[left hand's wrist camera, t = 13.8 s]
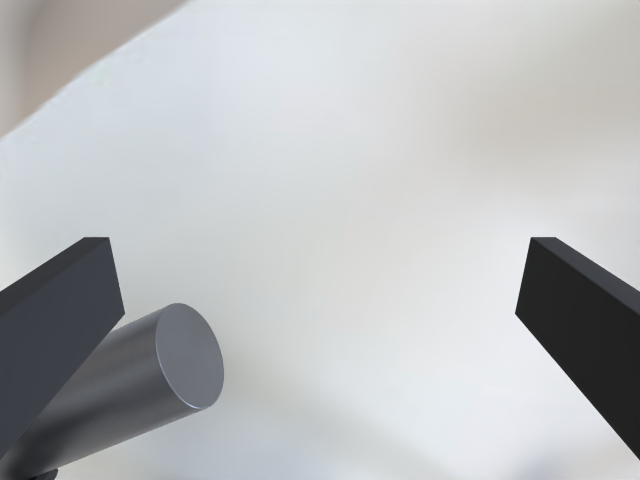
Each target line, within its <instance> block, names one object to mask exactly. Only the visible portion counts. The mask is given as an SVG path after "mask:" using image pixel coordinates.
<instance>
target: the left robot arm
mask: <svg viewBox="0 0 640 480" xmlns="http://www.w3.org/2000/svg"><path fill="white" fill-rule="evenodd" d="M124 314H125V311H124V307H123V302H122V297H121V292H120V287H119V283H118V278H117V273H116V268H115V264H114V259H113V254H112V249H111V244H110V240H109V237H84V238H83V239H81V240H79V241H78V242H76V243H75V244H73V245H72V246H70V247H69V248H67V249H66V250H64V251H62V252H61V253H59V254H58V255H56V256H55V257H53V258H52V259H50V260H49V261H47V262H45V263H44V264H42V265H41V266H39V267H38V268H36V269H35V270H33V271H32V272H30V273H28V274H27V275H25V276H24V277H22V278H21V279H19V280H18V281H16V282H15V283H13V284H11V285H10V286H8V287H7V288H5V289H4V290H2V291H1V292H0V460H1V459H2V458H3V456H4V455H5V454H6V453H7V452H8V450H9V449H10V448H11V447H12V446H13V445H14V443H15V442H16V441H17V440H18V439H19V438H20V436H21V435H22V434H23V433H24V432H25V431H26V429H27V428H28V427H29V426H30V425H31V424H32V422H33V421H34V420H35V419H36V418H37V416H38V415H39V414H40V413H41V412H42V411H43V409H44V408H45V407H46V406H47V405H48V404H49V402H50V401H51V400H52V399H53V398H54V397H55V395H56V394H57V393H58V392H59V391H60V389H61V388H62V387H63V386H64V385H65V384H66V382H67V381H68V380H69V379H70V378H71V377H72V375H73V374H74V373H75V372H76V371H77V370H78V368H79V367H80V366H81V365H82V364H83V362H84V361H85V360H86V359H87V358H88V357H89V355H90V354H91V353H92V352H93V351H94V350H95V348H96V347H97V346H98V345H99V344H100V343H101V341H102V340H103V339H104V338H105V337H106V335H107V334H108V333H109V332H110V331H111V330H112V328H113V327H114V326H115V325H116V324H117V323H118V321H119V320H120V319H121V318H122V317H123V316H124ZM515 314H516V316H517V317H518V318H519V319H520V320H521V321H522V323H523V324H524V325H525V326H526V327H527V328H528V330H529V331H530V332H531V333H532V334H533V335H534V337H535V338H536V339H537V340H538V341H539V343H540V344H541V345H542V346H543V347H544V348H545V350H546V351H547V352H548V353H549V354H550V355H551V357H552V358H553V359H554V360H555V361H556V362H557V364H558V365H559V366H560V367H561V368H562V370H563V371H564V372H565V373H566V374H567V375H568V377H569V378H570V379H571V380H572V381H573V382H574V384H575V385H576V386H577V387H578V388H579V389H580V391H581V392H582V393H583V394H584V395H585V397H586V398H587V399H588V400H589V401H590V402H591V404H592V405H593V406H594V407H595V408H596V409H597V411H598V412H599V413H600V414H601V415H602V416H603V418H604V419H605V420H606V421H607V422H608V424H609V425H610V426H611V427H612V428H613V429H614V431H615V432H616V433H617V434H618V435H619V436H620V438H621V439H622V440H623V441H624V442H625V443H626V445H627V446H628V447H629V448H630V449H631V450H632V452H633V453H634V454H635V455H636V456H637V458H638V459H639V460H640V292H639V291H638V290H636V289H635V288H633V287H632V286H630V285H629V284H627V283H625V282H624V281H622V280H621V279H619V278H618V277H616V276H615V275H613V274H612V273H610V272H608V271H607V270H605V269H604V268H602V267H601V266H599V265H598V264H596V263H595V262H593V261H591V260H590V259H588V258H587V257H585V256H584V255H582V254H581V253H579V252H578V251H576V250H574V249H573V248H571V247H570V246H568V245H567V244H565V243H564V242H562V241H561V240H559V239H557V238H556V237H531V240H530V244H529V249H528V254H527V259H526V264H525V268H524V273H523V278H522V283H521V287H520V292H519V297H518V302H517V307H516V311H515Z"/></svg>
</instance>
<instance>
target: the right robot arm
mask: <svg viewBox="0 0 640 480" xmlns="http://www.w3.org/2000/svg"><path fill="white" fill-rule="evenodd" d="M57 472H58V469H57V468H56V469H53V470H51V471H48V472H46V473H43V474H41V475H38V476H36V477H33V478H31V479H28V480H54V479H55V477H56V476H57Z"/></svg>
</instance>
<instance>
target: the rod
mask: <svg viewBox="0 0 640 480" xmlns="http://www.w3.org/2000/svg"><path fill="white" fill-rule="evenodd" d="M223 379H224V368H223V360H222V355H221V351H220V348H219V345H218V342H217V340H216V337H215V335H214V333H213V331H212V329H211V328H210V326H209V325H208V323H207V322H206V320H205V319H204V318H203V317H202V316H201V315H200V314H199V313H198V312H197V311H196V310H195V309H193V308H192V307H190V306H188V305H185V304H181V303H175V304H171V305H169V306H167V307H164V308H162V309H160V310H158V311H156V312H154V313H151V314H149V315H147V316H145V317H143V318H141V319H138V320H136V321H134V322H132V323H130V324H127V325H125V326H123V327H121V328H119V329H117V330H114V331H112V332H110V333H108V334H107V335H106V337H105V338H104V339H103V340H102V341H101V343H100V344H99V345H98V346H97V347H96V348H95V350H94V351H93V352H92V353H91V354H90V355H89V357H88V358H87V359H86V360H85V361H84V362H83V364H82V365H81V366H80V367H79V368H78V370H77V371H76V372H75V373H74V374H73V375H72V377H71V378H70V379H69V380H68V381H67V382H66V384H65V385H64V386H63V387H62V388H61V389H60V391H59V392H58V393H57V394H56V395H55V397H54V398H53V399H52V400H51V401H50V402H49V404H48V405H47V406H46V407H45V408H44V409H43V411H42V412H41V413H40V414H39V415H38V416H37V418H36V419H35V420H34V421H33V422H32V424H31V425H30V426H29V427H28V428H27V429H26V431H25V432H24V433H23V434H22V435H21V436H20V438H19V439H18V440H17V441H16V442H15V443H14V445H13V446H12V447H11V448H10V449H9V450H8V452H7V453H6V454H5V455H4V456H3V458H2V459H1V460H0V480H28V479H31V478H33V477H36V476H38V475H41V474H43V473H46V472H48V471H51V470H53V469H56V468H58V467H61V466H63V465H66V464H68V463H71V462H73V461H76V460H78V459H81V458H83V457H86V456H88V455H91V454H93V453H96V452H98V451H101V450H103V449H106V448H108V447H111V446H113V445H116V444H118V443H121V442H123V441H126V440H128V439H131V438H133V437H136V436H138V435H141V434H143V433H146V432H148V431H151V430H153V429H156V428H158V427H161V426H163V425H166V424H168V423H171V422H173V421H176V420H178V419H181V418H183V417H186V416H188V415H191V414H193V413H196V412H198V411H201V410H203V409H206V408H208V407H210V406H211V405H213V404H214V403H215V402H216V400H217V399H218V397H219V396H220V393H221V390H222V386H223Z"/></svg>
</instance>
